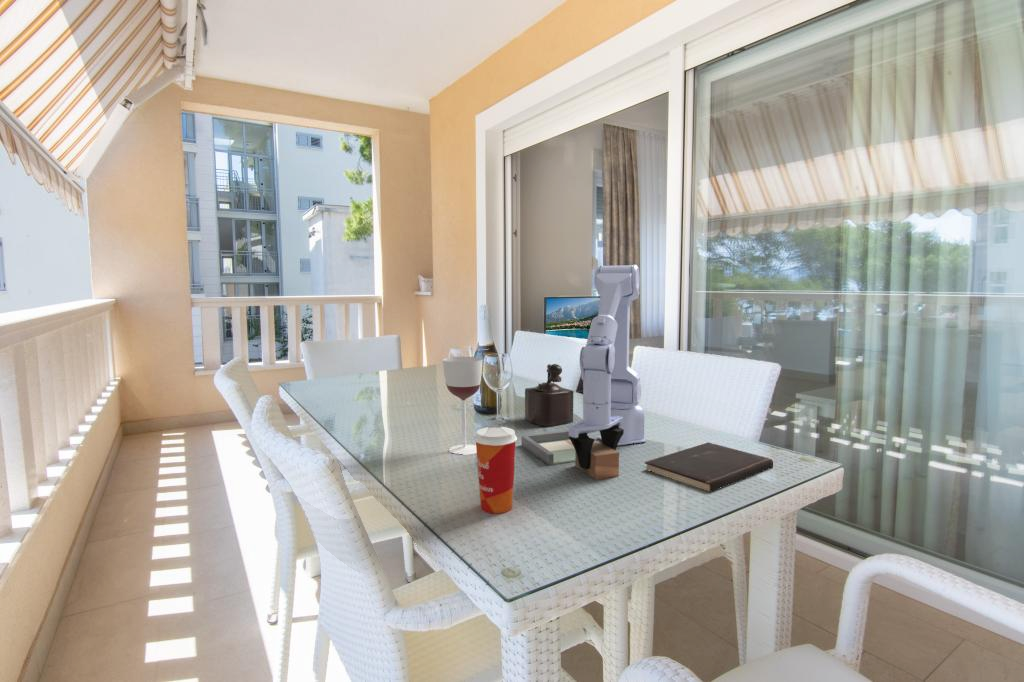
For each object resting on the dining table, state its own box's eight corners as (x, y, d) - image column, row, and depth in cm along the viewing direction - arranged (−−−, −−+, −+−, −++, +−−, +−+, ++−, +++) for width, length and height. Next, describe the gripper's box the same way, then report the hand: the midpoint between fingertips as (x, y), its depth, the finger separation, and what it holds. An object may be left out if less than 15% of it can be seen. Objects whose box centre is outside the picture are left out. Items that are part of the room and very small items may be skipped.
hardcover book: (644, 472, 118) (644, 461, 118) (707, 451, 132) (708, 442, 132) (710, 495, 105) (711, 483, 105) (773, 469, 119) (773, 459, 119)
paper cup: (474, 499, 103) (473, 426, 101) (515, 498, 104) (515, 425, 102) (475, 517, 95) (474, 438, 94) (520, 515, 96) (519, 437, 94)
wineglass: (469, 457, 127) (468, 363, 125) (437, 451, 132) (435, 360, 130) (491, 447, 135) (489, 358, 132) (459, 442, 140) (457, 355, 137)
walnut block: (575, 465, 121) (575, 443, 121) (597, 462, 123) (597, 440, 122) (595, 479, 113) (595, 455, 112) (618, 475, 115) (618, 452, 114)
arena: (579, 437, 142) (579, 428, 142) (611, 456, 127) (612, 446, 127) (521, 445, 136) (521, 435, 136) (548, 465, 122) (548, 454, 121)
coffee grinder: (521, 420, 161) (521, 358, 159) (553, 415, 166) (552, 355, 164) (553, 432, 148) (552, 365, 146) (585, 426, 153) (585, 362, 151)
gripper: (606, 393, 124) (606, 452, 125) (558, 403, 115) (558, 466, 117) (631, 399, 118) (630, 460, 120) (582, 409, 109) (582, 475, 111)
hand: (596, 464), depth 118 cm, fingers closed on walnut block, 7 cm apart
